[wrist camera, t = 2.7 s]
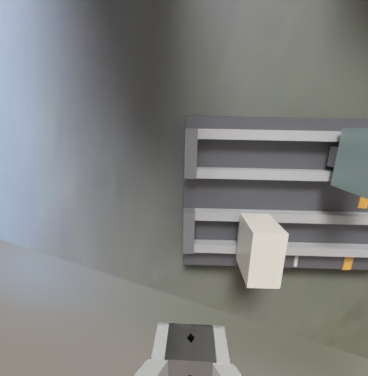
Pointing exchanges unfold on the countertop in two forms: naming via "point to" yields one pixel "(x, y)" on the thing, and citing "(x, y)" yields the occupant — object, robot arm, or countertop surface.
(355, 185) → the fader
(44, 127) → the countertop surface
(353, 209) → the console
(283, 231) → the fader
